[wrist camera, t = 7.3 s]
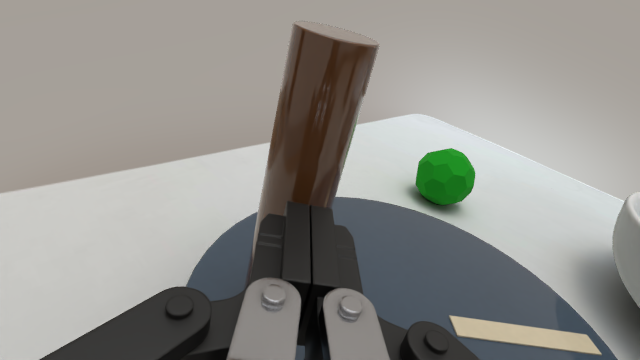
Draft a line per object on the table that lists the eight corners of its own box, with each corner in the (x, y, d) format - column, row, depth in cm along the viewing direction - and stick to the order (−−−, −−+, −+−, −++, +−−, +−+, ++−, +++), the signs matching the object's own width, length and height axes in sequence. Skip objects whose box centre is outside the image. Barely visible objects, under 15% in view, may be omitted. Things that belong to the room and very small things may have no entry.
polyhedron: (400, 195, 34) (418, 147, 31) (418, 179, 37) (436, 135, 35) (453, 222, 32) (478, 173, 29) (467, 202, 35) (489, 157, 33)
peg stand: (502, 239, 30) (598, 73, 24) (843, 707, 11) (1769, 493, 5) (224, 191, 27) (251, -15, 21) (35, 725, 8) (-340, 182, 2)
